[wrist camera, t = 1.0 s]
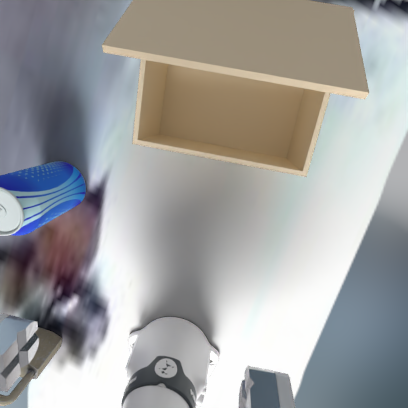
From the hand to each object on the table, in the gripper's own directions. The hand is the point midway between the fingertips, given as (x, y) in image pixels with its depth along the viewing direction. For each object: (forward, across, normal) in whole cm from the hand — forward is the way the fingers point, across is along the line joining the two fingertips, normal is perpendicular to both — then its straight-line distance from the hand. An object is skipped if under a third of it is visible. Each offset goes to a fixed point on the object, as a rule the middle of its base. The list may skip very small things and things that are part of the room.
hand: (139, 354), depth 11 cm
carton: (+40, +1, +10) cm, 42 cm away
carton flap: (+23, +1, +15) cm, 27 cm away
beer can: (+39, -25, -10) cm, 48 cm away
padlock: (+36, -29, -45) cm, 65 cm away
